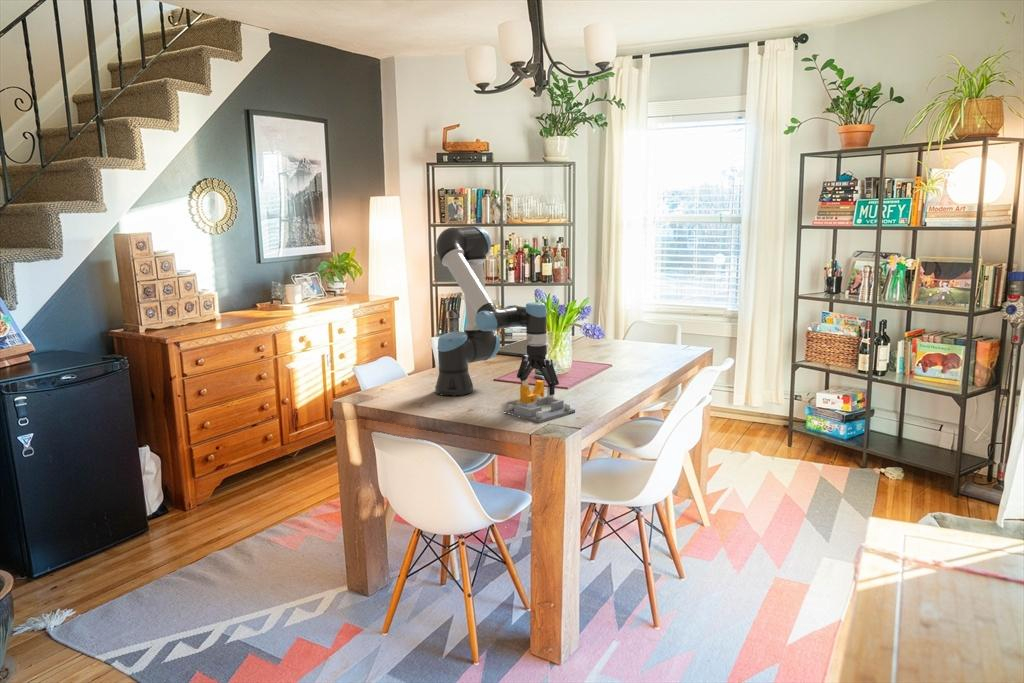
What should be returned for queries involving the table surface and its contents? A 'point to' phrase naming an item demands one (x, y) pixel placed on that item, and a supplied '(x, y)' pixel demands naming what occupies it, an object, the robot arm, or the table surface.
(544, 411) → the chassis
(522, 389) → the orange bracket
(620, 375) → the table surface
